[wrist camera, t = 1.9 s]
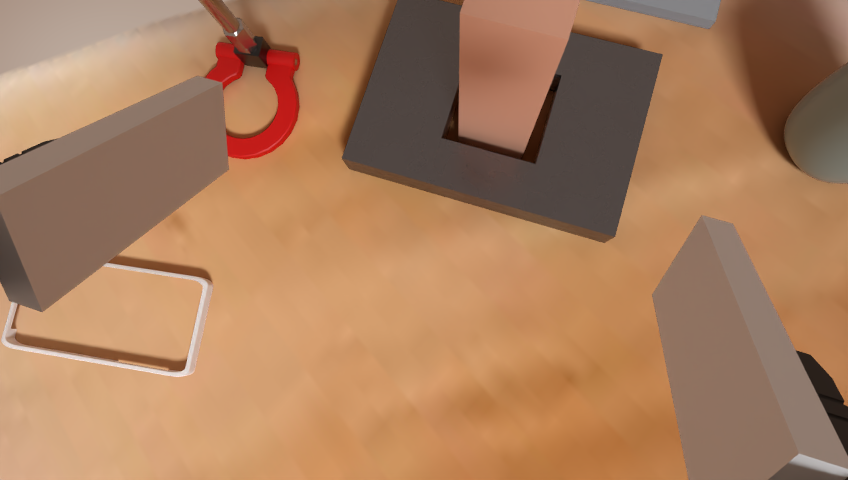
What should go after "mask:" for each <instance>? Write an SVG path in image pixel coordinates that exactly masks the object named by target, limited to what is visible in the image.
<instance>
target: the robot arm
mask: <svg viewBox="0 0 848 480" xmlns="http://www.w3.org/2000/svg"><path fill="white" fill-rule="evenodd" d="M228 170H229V165H228V152H227V138H226V125H225V111H224V97H223V84H222V82H218V81H215V80H211V79H207V78H204V77H200V76H196V77H193V78H191V79H189V80H187V81H184V82H182V83H180V84H178V85H176V86H173V87H171V88H169V89H167V90H165V91H162V92H160V93H158V94H156V95H154V96H151V97H149V98H147V99H145V100H143V101H140V102H138V103H136V104H134V105H131V106H129V107H127V108H125V109H123V110H120V111H118V112H116V113H114V114H112V115H109V116H107V117H105V118H103V119H101V120H98V121H96V122H94V123H92V124H90V125H87V126H85V127H83V128H81V129H78V130H76V131H74V132H72V133H70V134H67V135H65V136H63V137H61V138H58V139H54V140H50V141H45V142H42V143H40V144H38V145H36V146H33V147H31V148H29V149H27V150H24V151H22V154H21V155H20V154H15V155H13V156H11V157H9V158H6V159H4V162H3V163H1V162H0V282H1V284H2V286H3V288H4V290H5V293H6V295H7V297H8V299H9V301H11V302H14V303H17V304H20V305H23V306H26V307H29V308H32V309H35V310H37V311H40V312H43V311H45V310H46V309H47V308H49V307H50V306H51V305H52V304H54V303H55V302H56V301H58V300H59V299H60V298H62V297H63V296H64V295H66V294H67V293H68V292H69V291H71V290H72V289H73V288H75V287H76V286H77V285H79V284H80V283H81V282H83V281H84V280H85V279H86V278H88V277H89V276H90V275H92V274H93V273H94V272H96V271H97V270H98V269H99V268H101V267H102V266H103V265H105V264H106V263H107V262H109V261H110V260H111V259H113V258H114V257H115V256H116V255H118V254H119V253H120V252H122V251H123V250H124V249H126V248H127V247H128V246H130V245H131V244H132V243H133V242H135V241H136V240H137V239H139V238H140V237H141V236H143V235H144V234H145V233H147V232H148V231H149V230H150V229H152V228H153V227H154V226H156V225H157V224H158V223H160V222H161V221H162V220H164V219H165V218H166V217H167V216H169V215H170V214H171V213H173V212H174V211H175V210H177V209H178V208H179V207H181V206H182V205H183V204H184V203H186V202H187V201H188V200H190V199H191V198H192V197H194V196H195V195H196V194H198V193H199V192H200V191H201V190H203V189H204V188H205V187H207V186H208V185H209V184H211V183H212V182H213V181H215V180H216V179H217V178H218V177H220V176H221V175H222V174H224V173H225V172H226V171H228ZM652 297H653V302H654V307H655V312H656V317H657V322H658V327H659V332H660V337H661V342H662V347H663V352H664V357H665V362H666V367H667V372H668V377H669V382H670V388H671V393H672V398H673V403H674V408H675V413H676V418H677V423H678V428H679V433H680V438H681V443H682V448H683V453H684V458H685V463H686V468H687V474H688V479H689V480H848V407H847V406H845V405H844V404H843V403H844V400H843V398H842V396H841V394H840V392H839V390H838V389H837V387H836V385H835V383H834V381H833V379H832V378H831V377H830V376H829V374H828V373H827V372H826V371H825V370H824V369H823V368H822V367H821V366H820V365H819V364H818V363H817V362H816V360H815V359H814V358H813V357H812V356H811V355H809V354H806V353H803V352H799V351H796V350H795V348H794V346H793V344H792V342H791V340H790V338H789V336H788V334H787V332H786V330H785V328H784V326H783V324H782V322H781V320H780V318H779V316H778V314H777V312H776V310H775V308H774V306H773V304H772V302H771V300H770V298H769V296H768V294H767V292H766V290H765V288H764V286H763V284H762V282H761V280H760V278H759V276H758V274H757V272H756V270H755V268H754V265H753V263H752V261H751V259H750V257H749V255H748V253H747V251H746V249H745V247H744V245H743V243H742V241H741V239H740V237H739V235H738V233H737V231H736V229H735V227H734V225H733V224H732V223H728V222H725V221H721V220H717V219H714V218H710V217H706V216H703V215H702V216H701V217H700V219H699V220H698V222H697V224H696V225H695V227H694V228H693V230H692V232H691V233H690V235H689V236H688V238H687V240H686V241H685V243H684V244H683V246H682V248H681V249H680V251H679V252H678V254H677V256H676V257H675V259H674V260H673V262H672V264H671V265H670V267H669V268H668V270H667V272H666V273H665V275H664V276H663V278H662V280H661V281H660V283H659V284H658V286H657V288H656V289H655V291H654V292H653V294H652Z"/></svg>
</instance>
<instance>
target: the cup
mask: <svg viewBox="0 0 848 480" xmlns="http://www.w3.org/2000/svg"><path fill="white" fill-rule="evenodd" d="M784 142H785V146H786V149H787V151H788V153H789V156H790V157H791V159H792V160H793V162H794V163H795V164H796V165H797V166H798V168H799V169H800V170H801V171H803V172H804V173H805V174H807V175H808V176H810V177H812V178H814V179H816V180H819V181H823V182H827V183H836V184H848V62H847V63H846V64H844V65H843V66H841V67H840V68H839V69H837V70H836V71H834V72H833V73H832V74H830V75H829V76H828V77H826V78H825V79H824V80H822V81H821V82H820V83H818V84H817V85H816V86H815V87H813V88H812V89H811V90H810V91H809V92H808V93H807V94H806V95H804V96H803V98H802V99H801V100H800V101H799V102H798V103H797V104H796V106H795V107H794V108H793V109H792V111H791V112H790V114H789V116H788V118H787V120H786V123H785V128H784Z"/></svg>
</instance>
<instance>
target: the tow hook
mask: <svg viewBox="0 0 848 480" xmlns="http://www.w3.org/2000/svg"><path fill="white" fill-rule="evenodd" d="M199 1H200V3H201V4H202V5H203V6H204V7H205V8H206V9H207V11H208V12H209V13H210V14H211V15H212V16H213V17H214V18H215V20H216V21H217V22H218V23H219V24H220V25H221V26H222V28H223V31H224V34H225V36H226V37H227V38H228V39H229V40H230V41H231V43H232V44H230V43H223V42H218V43H217V45H216V56H217V58H218V62H217V66H216V67H215V68H214V69H212V70H211V71H210V72H209V74H208V75H207V76H206V77H205V78H207V79H211V80H215V81H218V82H222V84H223V90H224V88H225V87H226V86H227V85H228V84H230V83H231V82H232V81H234V80H236V79H239V78H240V77H241V76H242V72H243V68H244V64H245V65H247V66H254V67H261V68H267V71H266V75H265V76H266V79H267V80H268V81H269V82H270V83H271V84H272V85H273V87H274V88H275V91H276V93H277V96H278V109H277V114H276V116H275V118H274V120H273V122H272V123H271V124H270V126H269V127H268V128H267V129H266V130H264V131H263V132H262V133H261V134H258V135H256V136H254V137H251V138H244V139H242V138H234V137H232V136H229V135H227V134H226V138H227V152H228V156H229V157H232V158H239V159H251V158H258V157H261V156H263V155H265V154H268V153H270V152H272V151H273V150H275V149H276V148H277V147H279V146H280V145H281V144H283V143H284V141H285V140H286V139H287V138H288V136H289V135H290V134H291V132H292V130H293V128H294V126H295V124H296V121H297V118H298V112H299V98H298V92H297V90H296V87H295V85H294V82H293V81H292V80H293V76H294V71H297V70H298V68H299V64H300V58H299V55H298V53H294V52H287V51H280V50H273V49H271V48H270V46H269V45H268V44H267V42H266V41H265V40H264V39H263V37H258V36H254V35H253V34H252V33H251V31H250V30H249V29H248V27H247V26H246V25H245V23H244V22H243V21H242V20H241V19H240V18H236V17H235V16H234V15H233V14H232V12H231V11H230V10H229V9H228V7H227V6H226V5H225V4H224V2H223V1H222V0H199Z"/></svg>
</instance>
